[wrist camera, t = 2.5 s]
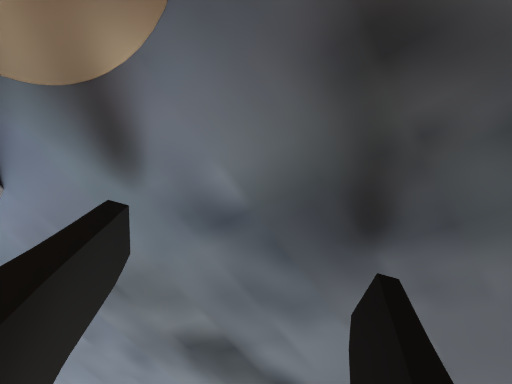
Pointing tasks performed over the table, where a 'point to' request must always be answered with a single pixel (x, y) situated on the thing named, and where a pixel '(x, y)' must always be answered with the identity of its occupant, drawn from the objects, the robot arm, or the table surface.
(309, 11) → the table surface
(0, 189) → the die
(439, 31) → the table surface
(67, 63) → the coaster
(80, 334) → the robot arm
